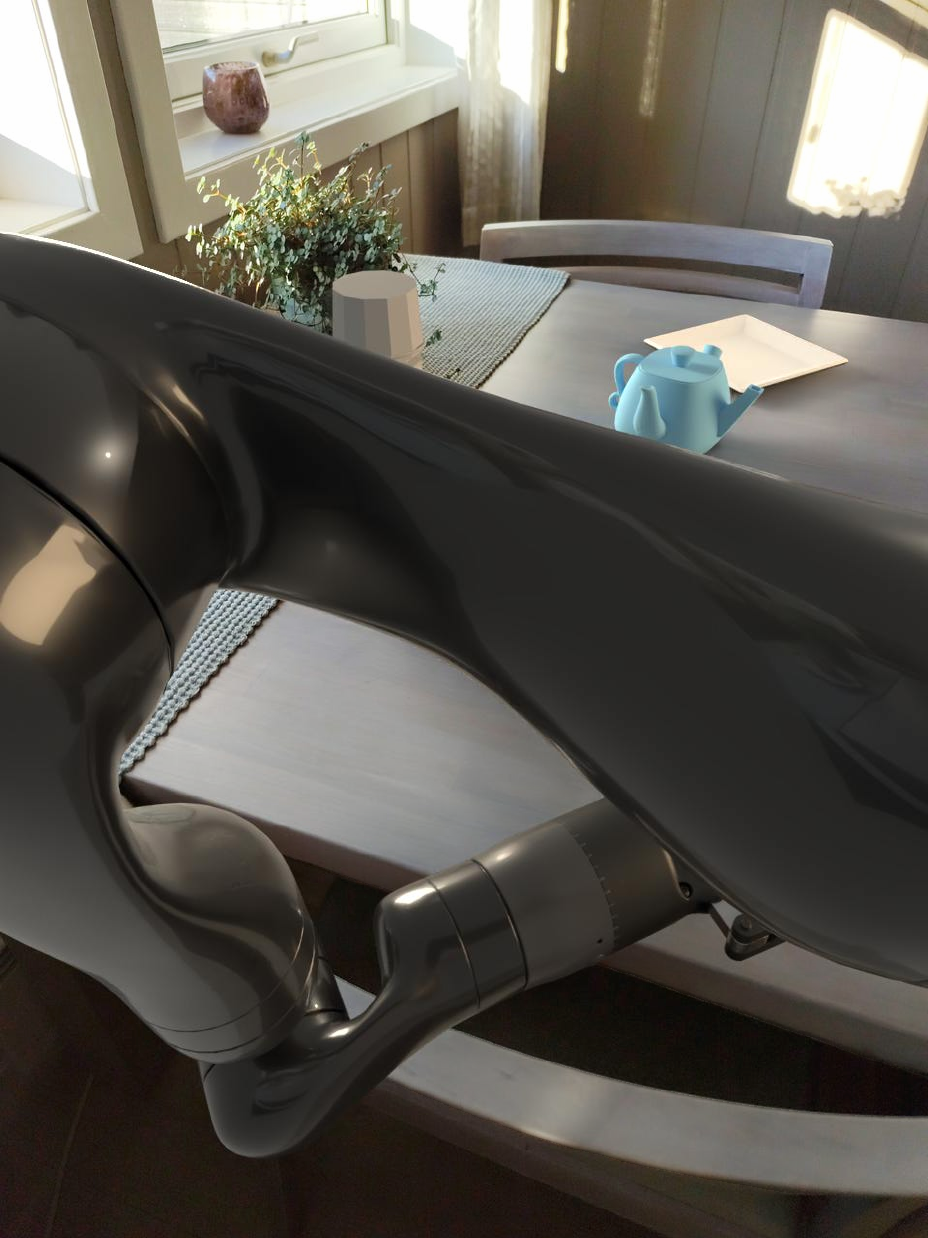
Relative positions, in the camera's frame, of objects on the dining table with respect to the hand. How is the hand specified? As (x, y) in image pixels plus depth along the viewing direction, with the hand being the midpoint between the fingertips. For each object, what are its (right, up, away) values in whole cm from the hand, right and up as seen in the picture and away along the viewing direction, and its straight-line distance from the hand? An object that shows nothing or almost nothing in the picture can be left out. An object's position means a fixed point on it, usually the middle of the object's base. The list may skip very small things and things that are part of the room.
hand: (801, 785), depth 52 cm
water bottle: (-27, +16, +30) cm, 44 cm away
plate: (+16, +44, +63) cm, 78 cm away
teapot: (+3, +29, +45) cm, 54 cm away
